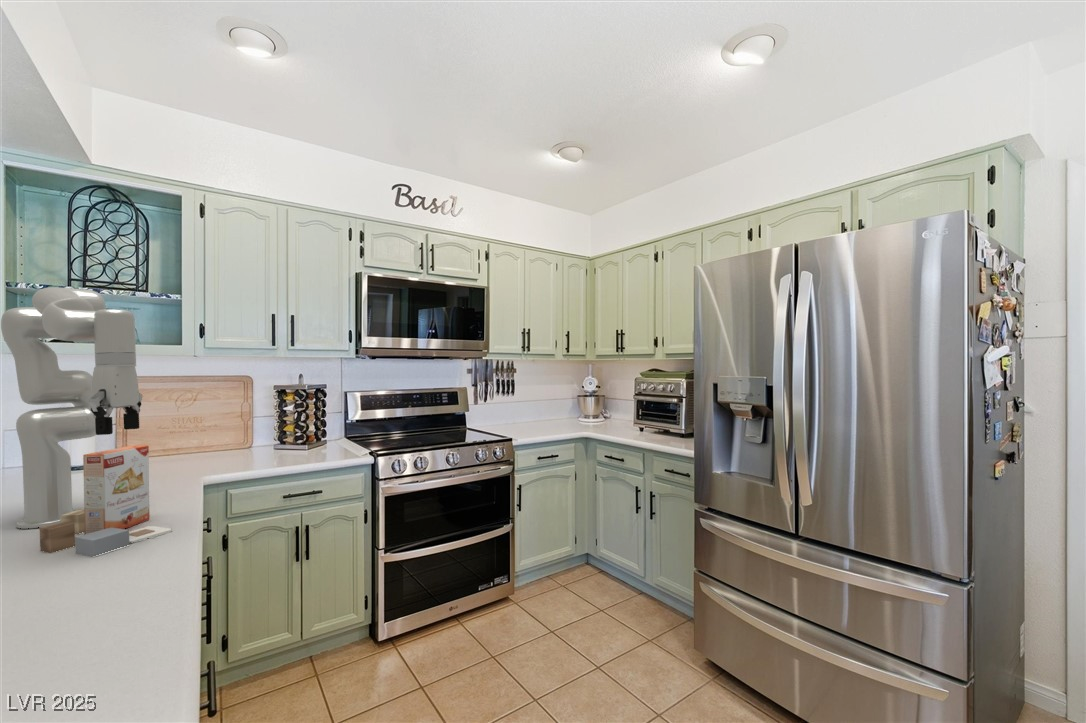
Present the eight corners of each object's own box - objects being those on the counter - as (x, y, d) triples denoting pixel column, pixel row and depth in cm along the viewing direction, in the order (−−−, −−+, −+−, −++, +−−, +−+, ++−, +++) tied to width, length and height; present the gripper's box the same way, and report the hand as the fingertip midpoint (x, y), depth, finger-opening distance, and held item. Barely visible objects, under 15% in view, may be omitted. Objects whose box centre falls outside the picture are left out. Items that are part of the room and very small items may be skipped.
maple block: (62, 534, 128) (61, 515, 128) (79, 528, 132) (78, 510, 132) (78, 534, 128) (78, 514, 128) (95, 528, 132) (94, 509, 132)
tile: (109, 539, 122) (109, 536, 122) (150, 528, 131) (150, 525, 131) (131, 543, 119) (131, 540, 119) (172, 531, 127) (171, 528, 127)
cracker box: (107, 537, 124) (104, 453, 124) (83, 537, 125) (80, 454, 125) (152, 519, 138) (149, 444, 138) (130, 519, 139) (128, 444, 139)
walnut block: (40, 551, 116) (39, 527, 116) (64, 544, 120) (63, 521, 120) (50, 553, 115) (49, 529, 115) (75, 546, 119) (74, 523, 119)
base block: (75, 554, 114) (75, 537, 114) (111, 543, 120) (111, 527, 120) (93, 558, 111) (93, 540, 111) (129, 547, 118) (129, 530, 118)
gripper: (122, 361, 128) (124, 428, 128) (70, 361, 111) (73, 437, 111) (154, 360, 129) (157, 426, 129) (108, 360, 112) (111, 435, 112)
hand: (118, 431), depth 120 cm, fingers open, 9 cm apart
